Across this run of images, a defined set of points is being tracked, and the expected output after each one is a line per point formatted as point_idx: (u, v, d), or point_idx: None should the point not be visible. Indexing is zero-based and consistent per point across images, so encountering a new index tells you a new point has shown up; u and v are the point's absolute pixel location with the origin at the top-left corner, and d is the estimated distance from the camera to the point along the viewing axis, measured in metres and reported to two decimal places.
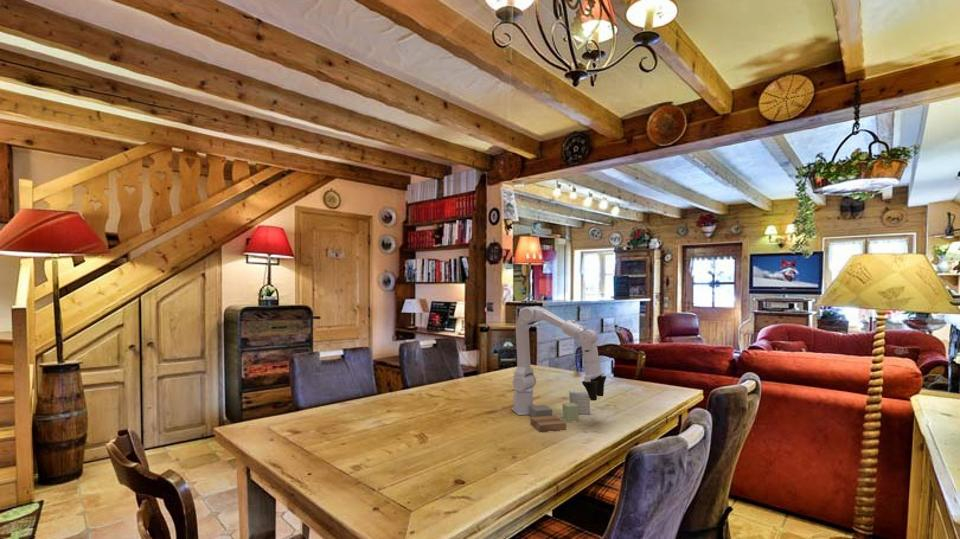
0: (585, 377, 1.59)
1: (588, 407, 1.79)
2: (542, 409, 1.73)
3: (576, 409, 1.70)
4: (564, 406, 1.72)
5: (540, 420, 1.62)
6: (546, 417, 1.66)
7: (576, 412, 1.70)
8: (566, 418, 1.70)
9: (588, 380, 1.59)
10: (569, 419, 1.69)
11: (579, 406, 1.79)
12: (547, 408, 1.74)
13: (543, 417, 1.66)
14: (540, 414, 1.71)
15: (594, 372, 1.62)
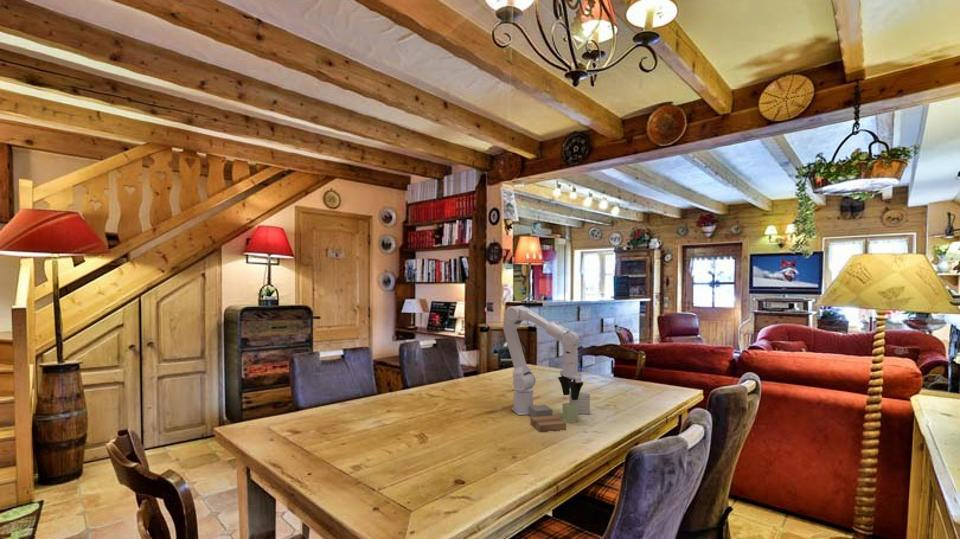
0: (577, 378, 1.65)
1: (588, 407, 1.79)
2: (542, 409, 1.73)
3: (576, 409, 1.70)
4: (564, 406, 1.72)
5: (540, 420, 1.62)
6: (546, 417, 1.66)
7: (576, 412, 1.70)
8: (566, 418, 1.70)
9: (580, 381, 1.65)
10: (569, 419, 1.69)
11: (579, 406, 1.79)
12: (547, 408, 1.74)
13: (543, 417, 1.66)
14: (540, 414, 1.71)
15: (576, 373, 1.70)
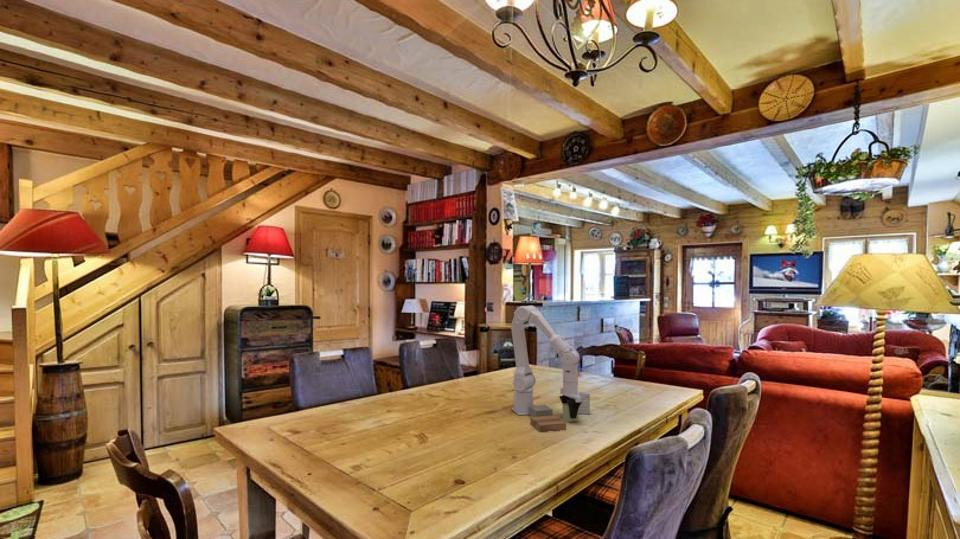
0: (577, 398, 1.65)
1: (588, 407, 1.79)
2: (542, 409, 1.73)
3: None
4: (564, 406, 1.72)
5: (540, 420, 1.62)
6: (546, 417, 1.66)
7: None
8: (566, 418, 1.70)
9: (580, 401, 1.65)
10: (569, 419, 1.69)
11: None
12: (547, 408, 1.74)
13: (543, 417, 1.66)
14: (540, 414, 1.71)
15: (576, 392, 1.70)
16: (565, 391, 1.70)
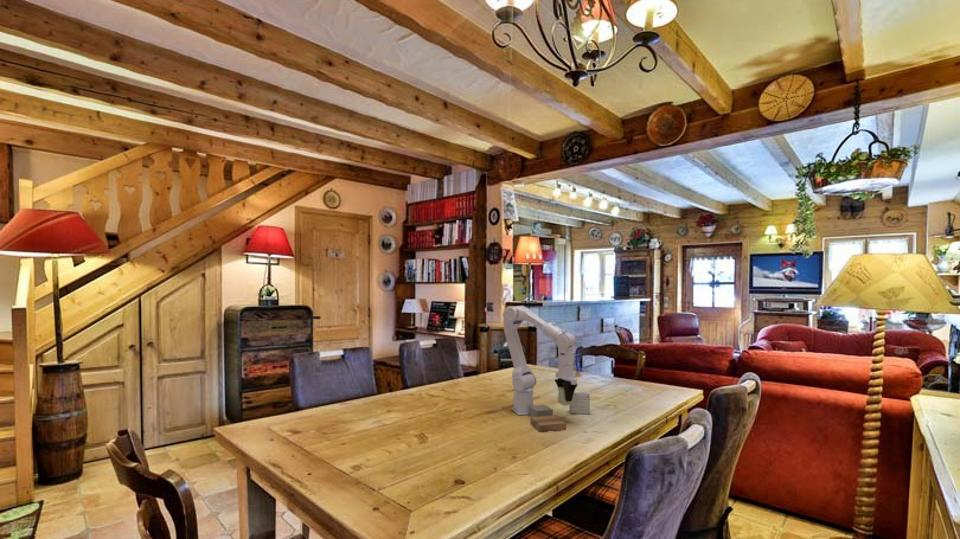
0: (573, 380, 1.63)
1: (588, 407, 1.79)
2: (543, 409, 1.73)
3: None
4: (560, 389, 1.70)
5: (540, 420, 1.62)
6: (546, 417, 1.66)
7: None
8: (562, 401, 1.68)
9: (575, 383, 1.64)
10: (565, 402, 1.68)
11: (579, 406, 1.79)
12: (547, 408, 1.74)
13: (543, 417, 1.66)
14: (541, 414, 1.71)
15: (572, 375, 1.68)
16: (561, 374, 1.69)
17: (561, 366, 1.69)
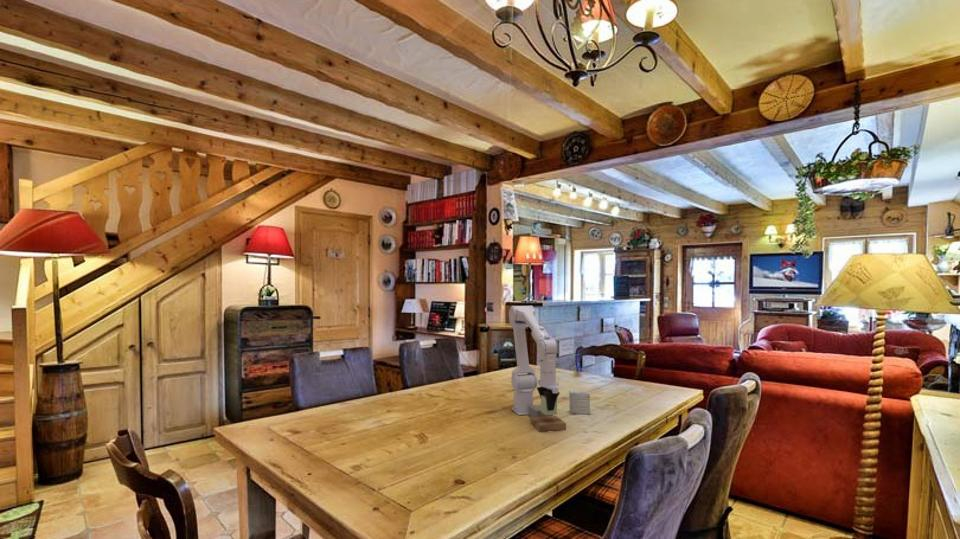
0: (554, 389, 1.56)
1: (588, 407, 1.79)
2: None
3: None
4: (542, 398, 1.63)
5: (540, 420, 1.62)
6: (546, 417, 1.66)
7: (555, 404, 1.61)
8: (544, 410, 1.61)
9: (557, 392, 1.56)
10: (547, 412, 1.61)
11: (579, 406, 1.79)
12: None
13: (543, 417, 1.66)
14: (541, 414, 1.71)
15: (554, 383, 1.61)
16: (542, 382, 1.62)
17: (543, 374, 1.62)
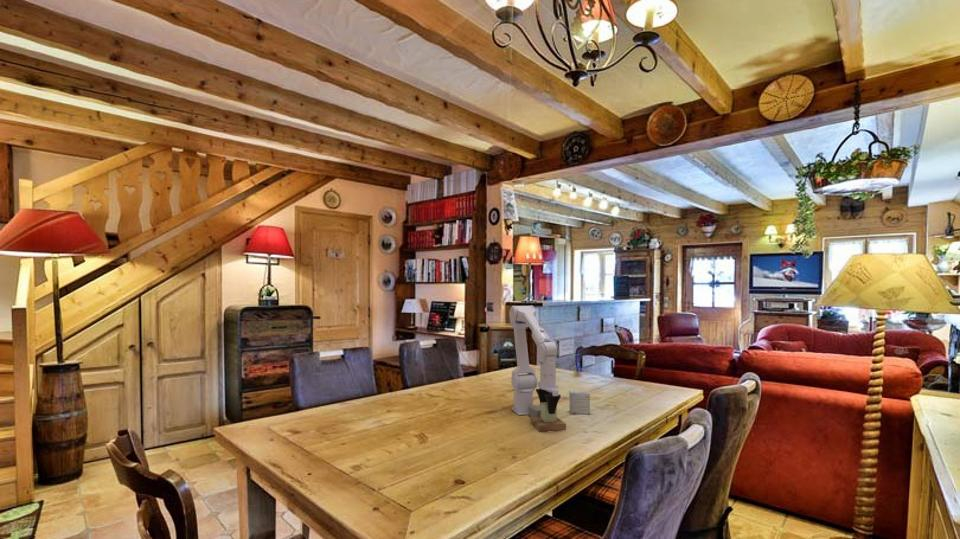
0: (554, 391, 1.56)
1: (588, 407, 1.79)
2: None
3: None
4: (542, 405, 1.63)
5: (540, 420, 1.62)
6: None
7: None
8: (543, 418, 1.61)
9: (557, 394, 1.56)
10: (546, 419, 1.61)
11: (579, 406, 1.79)
12: None
13: None
14: None
15: (554, 385, 1.61)
16: (542, 384, 1.62)
17: (543, 376, 1.62)
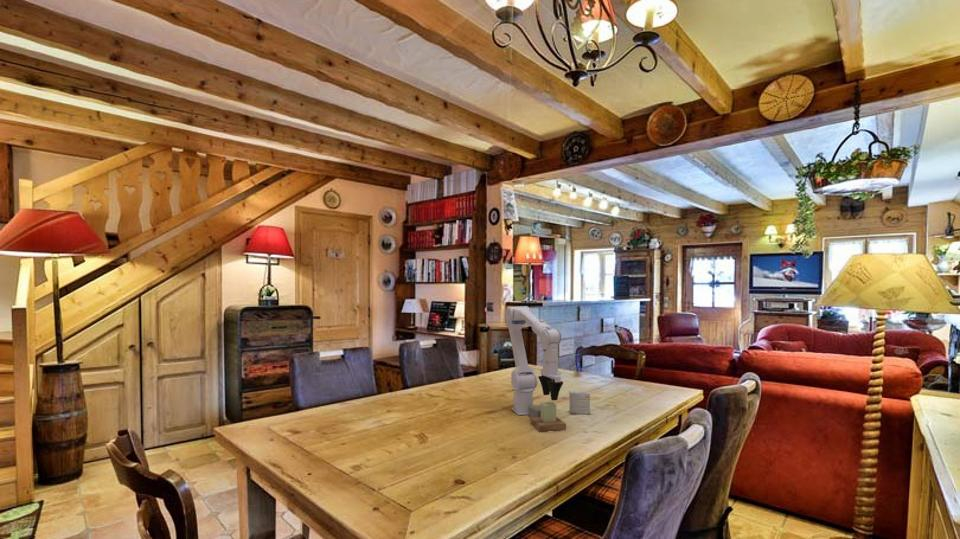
0: (556, 377, 1.59)
1: (588, 407, 1.79)
2: None
3: (554, 409, 1.61)
4: (542, 405, 1.63)
5: (540, 420, 1.62)
6: None
7: (554, 412, 1.61)
8: (543, 418, 1.61)
9: (559, 380, 1.59)
10: (546, 419, 1.60)
11: (579, 406, 1.79)
12: None
13: None
14: None
15: (556, 372, 1.64)
16: (545, 371, 1.64)
17: (545, 363, 1.64)
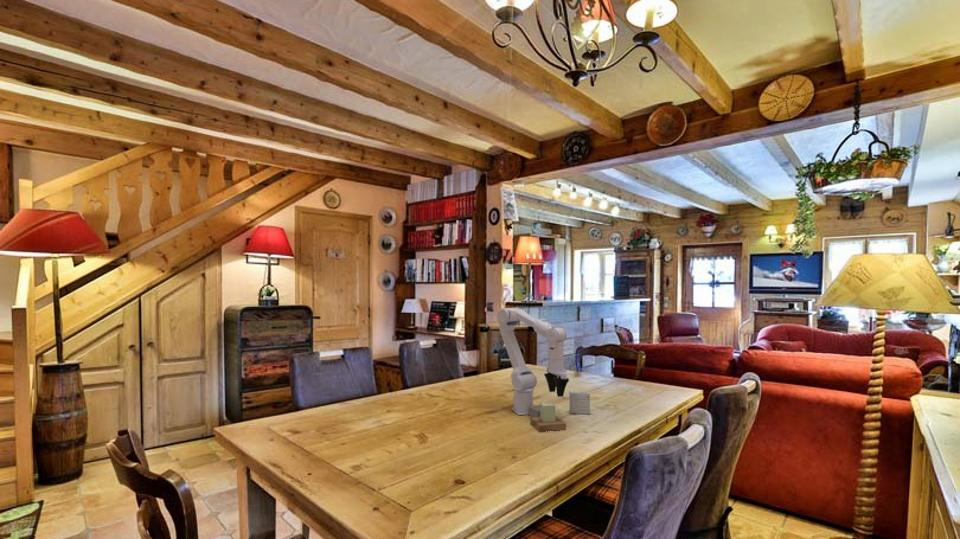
0: (562, 374, 1.64)
1: (588, 407, 1.79)
2: None
3: (553, 409, 1.61)
4: (541, 405, 1.63)
5: (540, 420, 1.62)
6: None
7: (553, 412, 1.61)
8: (542, 418, 1.61)
9: (565, 377, 1.64)
10: (545, 419, 1.61)
11: (579, 406, 1.79)
12: None
13: None
14: None
15: (562, 369, 1.69)
16: (551, 368, 1.69)
17: (551, 360, 1.69)
